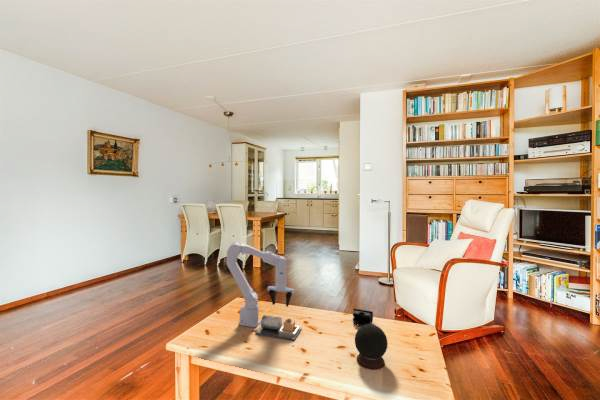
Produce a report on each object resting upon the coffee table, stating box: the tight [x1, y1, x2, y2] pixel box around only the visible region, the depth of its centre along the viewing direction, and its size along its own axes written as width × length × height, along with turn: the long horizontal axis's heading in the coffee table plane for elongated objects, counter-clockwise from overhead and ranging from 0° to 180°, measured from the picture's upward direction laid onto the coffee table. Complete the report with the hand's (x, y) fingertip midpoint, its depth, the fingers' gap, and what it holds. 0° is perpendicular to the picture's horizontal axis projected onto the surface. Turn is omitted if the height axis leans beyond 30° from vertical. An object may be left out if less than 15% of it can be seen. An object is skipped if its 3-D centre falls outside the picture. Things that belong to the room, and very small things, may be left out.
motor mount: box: [255, 314, 303, 342], centre depth 143 cm, size 20×12×7 cm, turn 73°
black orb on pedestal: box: [354, 323, 389, 371], centre depth 119 cm, size 13×13×15 cm
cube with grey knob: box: [282, 318, 296, 332], centre depth 142 cm, size 4×4×6 cm
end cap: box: [352, 307, 374, 326], centre depth 155 cm, size 10×7×7 cm
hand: (280, 305), depth 154 cm, fingers open, 7 cm apart
